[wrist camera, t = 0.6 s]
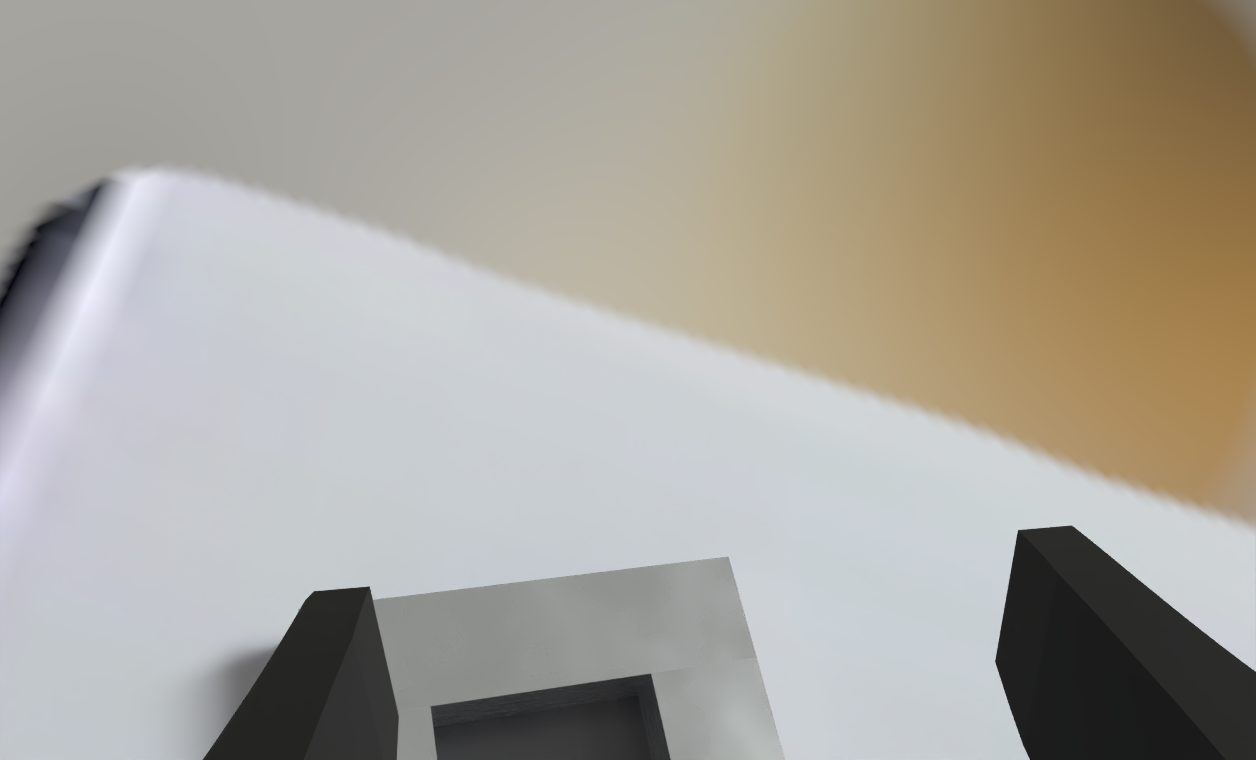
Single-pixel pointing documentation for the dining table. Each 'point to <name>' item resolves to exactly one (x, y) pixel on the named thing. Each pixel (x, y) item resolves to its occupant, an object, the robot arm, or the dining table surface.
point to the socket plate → (580, 669)
